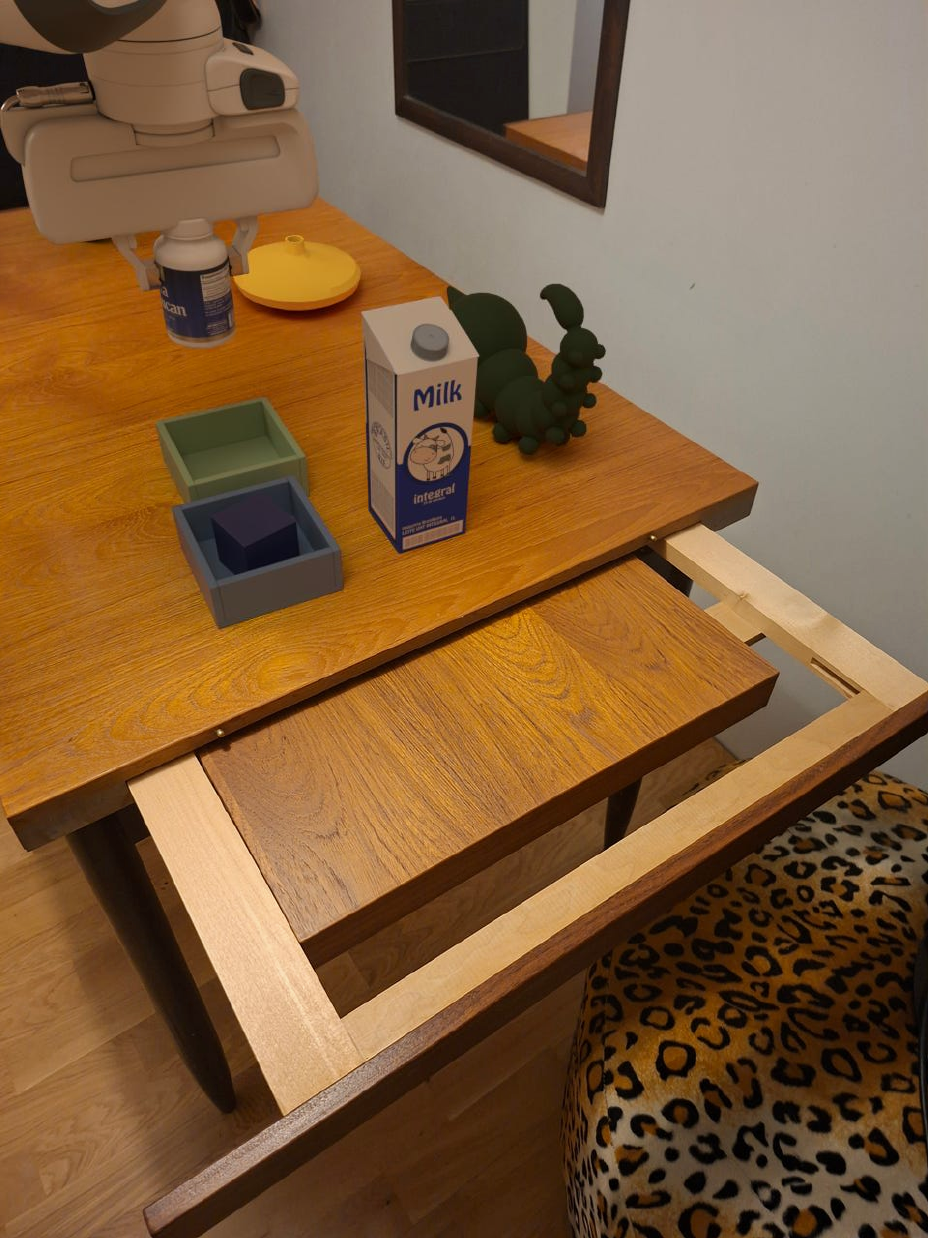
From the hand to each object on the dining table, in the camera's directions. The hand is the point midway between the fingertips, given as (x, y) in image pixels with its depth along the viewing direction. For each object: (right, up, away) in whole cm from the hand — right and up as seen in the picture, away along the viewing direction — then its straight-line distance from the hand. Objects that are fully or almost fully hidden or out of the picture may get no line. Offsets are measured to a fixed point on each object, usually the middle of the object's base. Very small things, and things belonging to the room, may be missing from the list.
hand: (195, 279), depth 67 cm
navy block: (+3, -21, +8) cm, 23 cm away
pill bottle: (0, -3, +3) cm, 5 cm away
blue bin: (+3, -22, +8) cm, 24 cm away
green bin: (-1, -13, +17) cm, 21 cm away
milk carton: (+16, -17, +14) cm, 27 cm away
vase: (0, +15, +43) cm, 45 cm away
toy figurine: (+25, -5, +26) cm, 37 cm away
